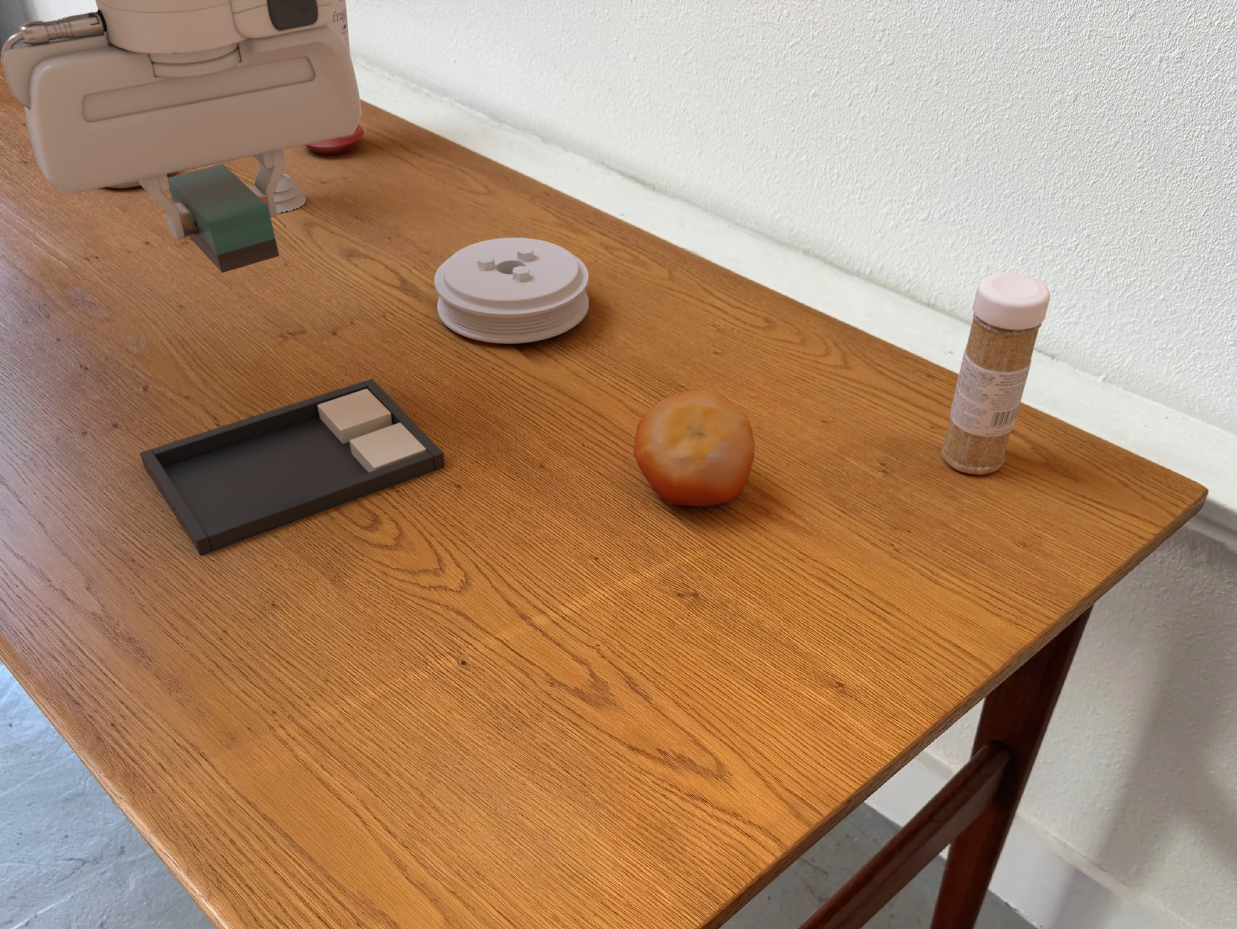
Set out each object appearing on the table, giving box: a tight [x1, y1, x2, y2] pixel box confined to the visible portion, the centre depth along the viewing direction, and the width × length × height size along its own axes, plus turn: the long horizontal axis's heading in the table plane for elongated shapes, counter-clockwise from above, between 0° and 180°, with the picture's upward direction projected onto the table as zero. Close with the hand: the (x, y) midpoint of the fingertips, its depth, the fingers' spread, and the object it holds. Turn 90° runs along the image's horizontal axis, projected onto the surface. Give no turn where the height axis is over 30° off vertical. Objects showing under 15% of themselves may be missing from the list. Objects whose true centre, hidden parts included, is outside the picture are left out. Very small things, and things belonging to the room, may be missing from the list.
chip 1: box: [318, 389, 393, 444], centre depth 86 cm, size 4×4×1 cm
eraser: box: [167, 163, 280, 274], centre depth 79 cm, size 8×4×4 cm, turn 34°
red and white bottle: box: [305, 0, 365, 156], centre depth 116 cm, size 7×7×28 cm
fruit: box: [633, 388, 756, 507], centre depth 80 cm, size 8×8×8 cm
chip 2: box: [349, 423, 426, 472], centre depth 83 cm, size 4×4×1 cm
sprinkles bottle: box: [940, 272, 1051, 476], centre depth 80 cm, size 5×5×14 cm
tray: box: [139, 378, 446, 557], centre depth 82 cm, size 18×12×2 cm, turn 124°
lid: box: [433, 237, 590, 344], centre depth 98 cm, size 13×13×5 cm
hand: (225, 225), depth 79 cm, fingers closed on eraser, 4 cm apart
